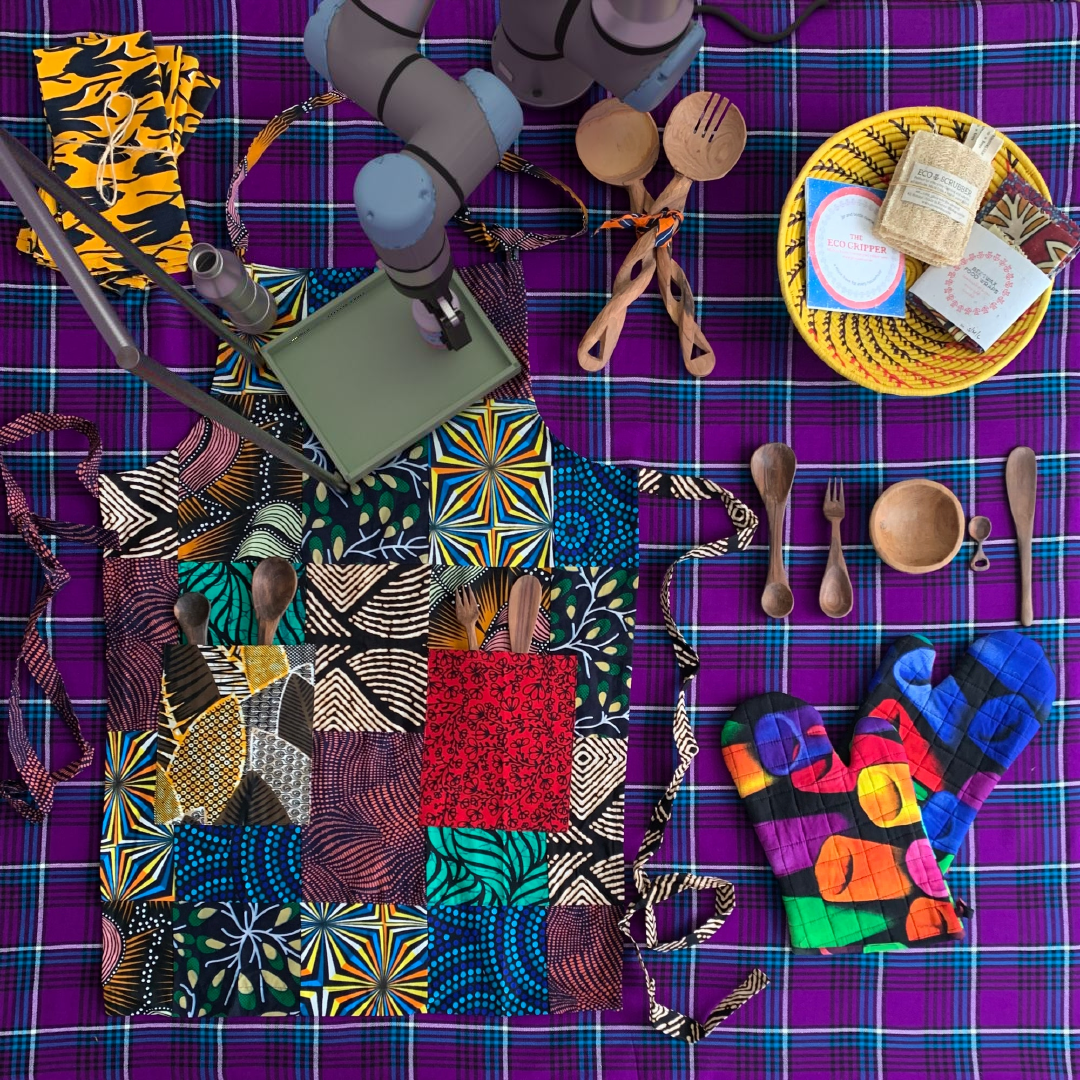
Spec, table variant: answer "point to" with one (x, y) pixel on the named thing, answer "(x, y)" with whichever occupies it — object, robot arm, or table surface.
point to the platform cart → (293, 346)
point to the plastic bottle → (232, 288)
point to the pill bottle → (430, 322)
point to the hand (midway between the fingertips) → (442, 322)
